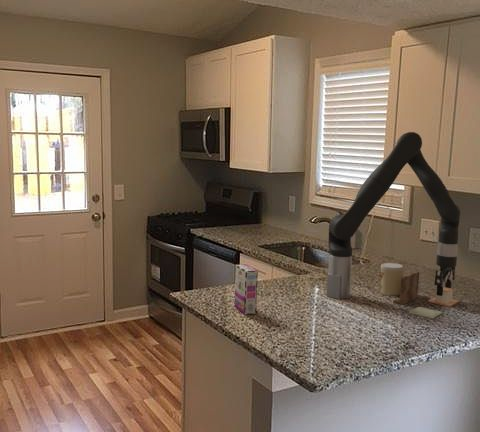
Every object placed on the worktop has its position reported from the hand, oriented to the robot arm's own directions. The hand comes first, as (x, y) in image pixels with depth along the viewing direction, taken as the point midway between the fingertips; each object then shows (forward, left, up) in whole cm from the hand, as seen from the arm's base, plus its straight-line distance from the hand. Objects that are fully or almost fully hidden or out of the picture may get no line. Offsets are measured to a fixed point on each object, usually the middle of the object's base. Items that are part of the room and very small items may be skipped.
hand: (443, 293), depth 210 cm
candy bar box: (-66, +48, -4) cm, 82 cm away
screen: (-9, +12, -4) cm, 15 cm away
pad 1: (-19, -1, -4) cm, 19 cm away
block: (0, 0, -3) cm, 3 cm away
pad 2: (0, 0, -4) cm, 4 cm away
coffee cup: (-4, +21, -4) cm, 22 cm away
